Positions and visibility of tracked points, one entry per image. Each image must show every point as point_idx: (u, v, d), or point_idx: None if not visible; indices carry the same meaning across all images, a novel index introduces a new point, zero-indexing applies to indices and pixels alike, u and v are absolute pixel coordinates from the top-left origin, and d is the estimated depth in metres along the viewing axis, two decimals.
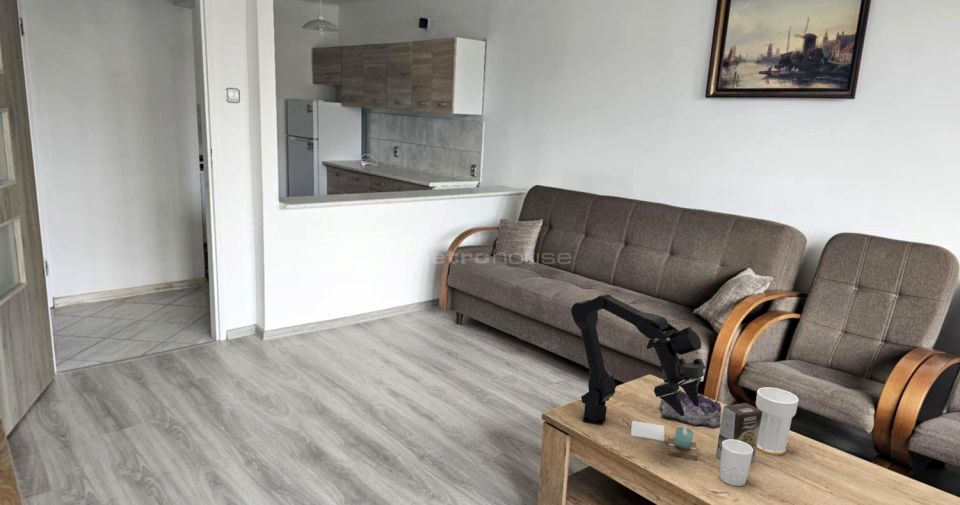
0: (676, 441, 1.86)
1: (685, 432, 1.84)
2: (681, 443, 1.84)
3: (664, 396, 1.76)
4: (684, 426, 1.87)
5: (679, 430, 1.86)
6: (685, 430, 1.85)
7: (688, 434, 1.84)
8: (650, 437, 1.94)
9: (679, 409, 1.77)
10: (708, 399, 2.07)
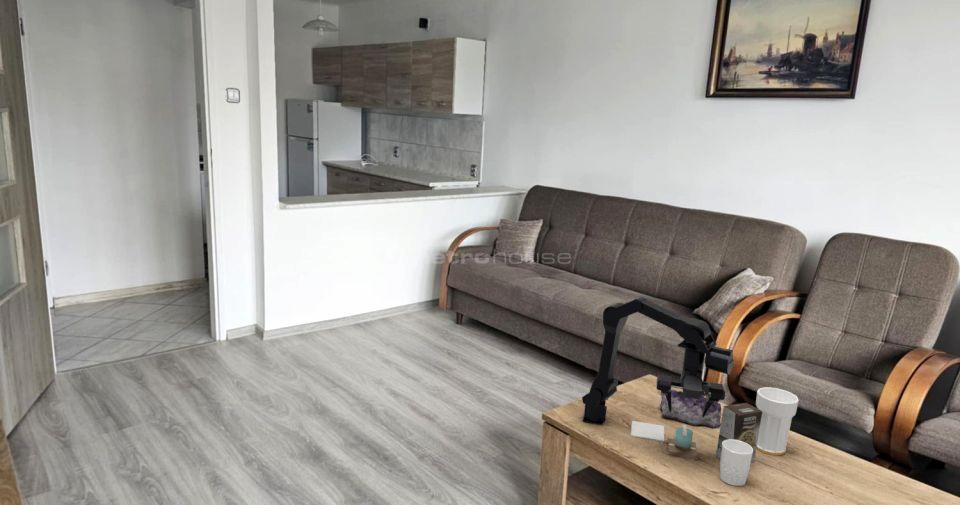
0: (676, 441, 1.86)
1: (685, 432, 1.84)
2: (681, 443, 1.84)
3: None
4: (684, 426, 1.87)
5: (679, 430, 1.86)
6: (685, 430, 1.85)
7: (688, 434, 1.84)
8: (650, 437, 1.94)
9: (668, 405, 1.85)
10: None
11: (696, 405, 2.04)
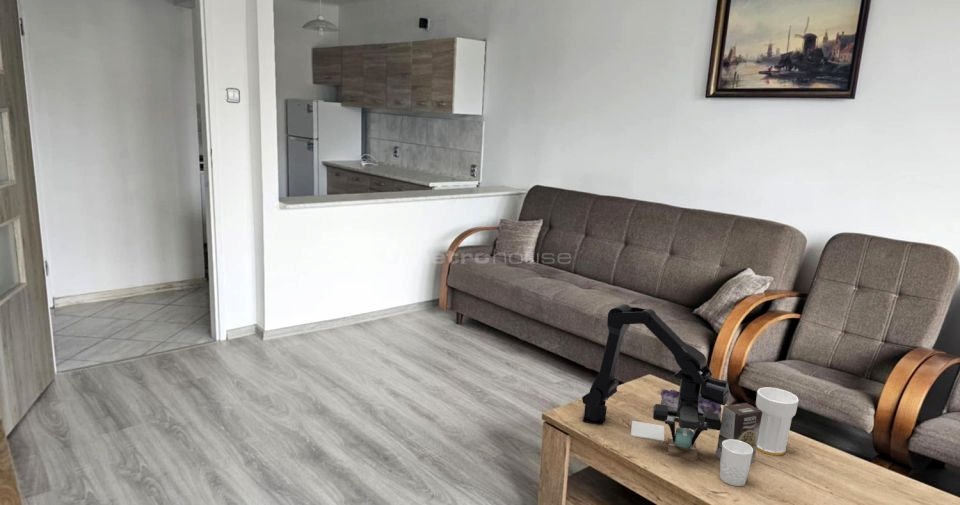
0: (676, 441, 1.86)
1: (685, 432, 1.84)
2: (681, 443, 1.84)
3: None
4: None
5: (679, 430, 1.86)
6: (685, 430, 1.85)
7: (688, 434, 1.84)
8: (650, 437, 1.94)
9: None
10: None
11: None
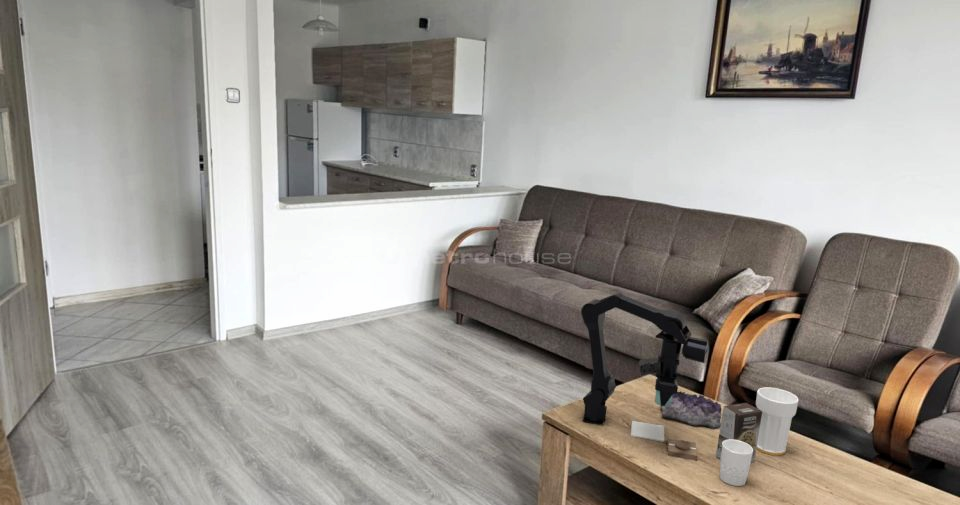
0: None
1: None
2: None
3: None
4: None
5: None
6: None
7: None
8: (650, 437, 1.94)
9: None
10: (708, 400, 2.06)
11: (696, 406, 2.03)
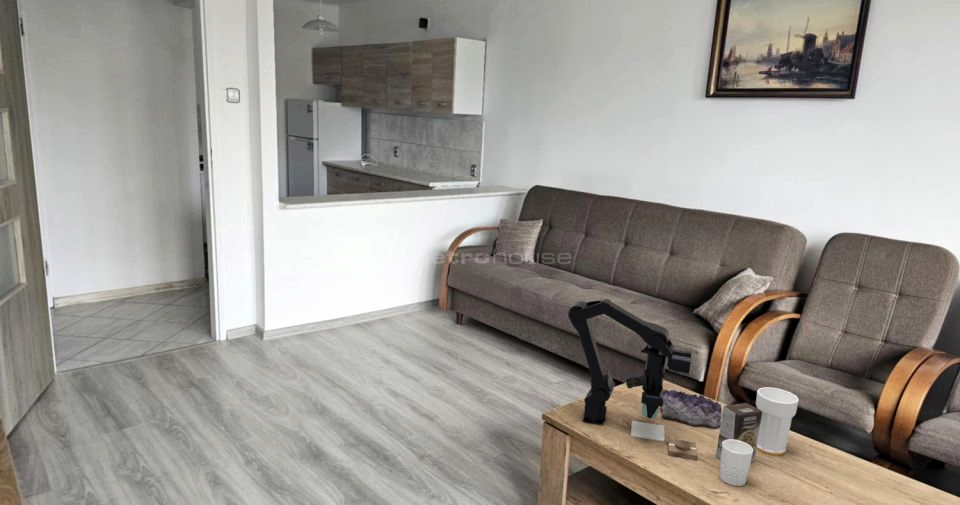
0: None
1: None
2: None
3: None
4: None
5: None
6: None
7: None
8: (650, 437, 1.94)
9: None
10: (708, 400, 2.06)
11: (696, 405, 2.03)
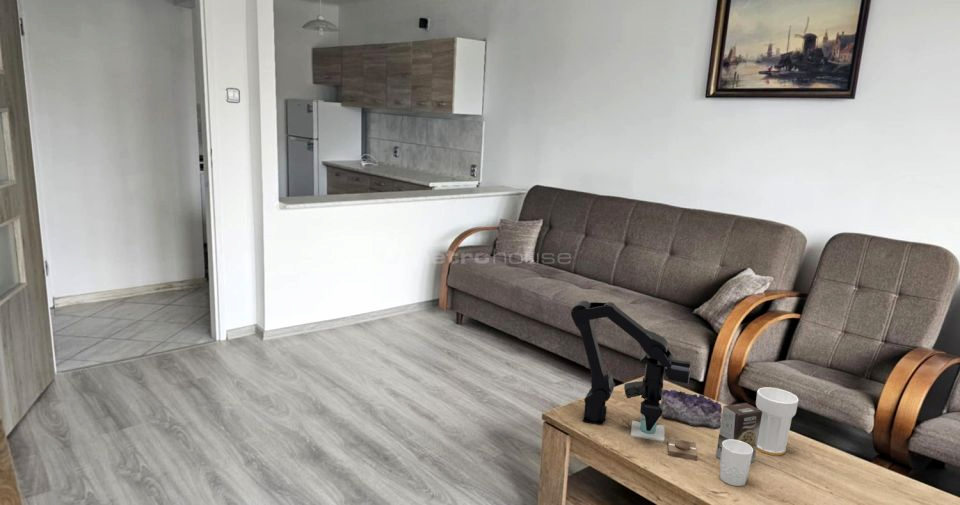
0: None
1: (642, 415, 1.98)
2: None
3: None
4: None
5: None
6: None
7: (643, 419, 1.97)
8: (650, 437, 1.94)
9: None
10: (709, 400, 2.06)
11: (696, 405, 2.03)
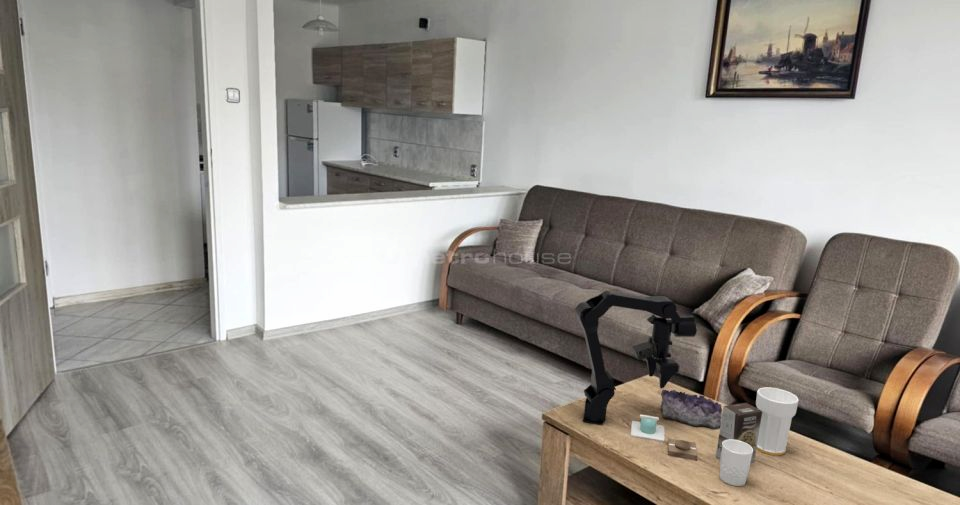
0: None
1: (642, 415, 1.98)
2: None
3: None
4: (654, 417, 1.97)
5: None
6: (646, 416, 1.97)
7: (643, 419, 1.97)
8: (650, 437, 1.94)
9: None
10: (709, 400, 2.06)
11: (696, 406, 2.03)
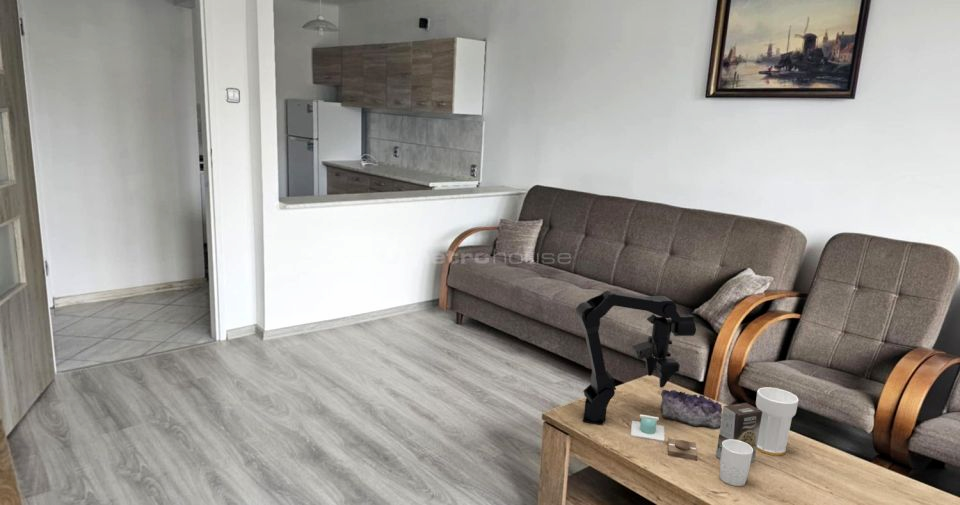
0: None
1: (642, 415, 1.98)
2: None
3: None
4: (654, 417, 1.97)
5: None
6: (646, 416, 1.97)
7: (643, 419, 1.97)
8: (650, 437, 1.94)
9: None
10: (709, 400, 2.06)
11: (697, 406, 2.03)
